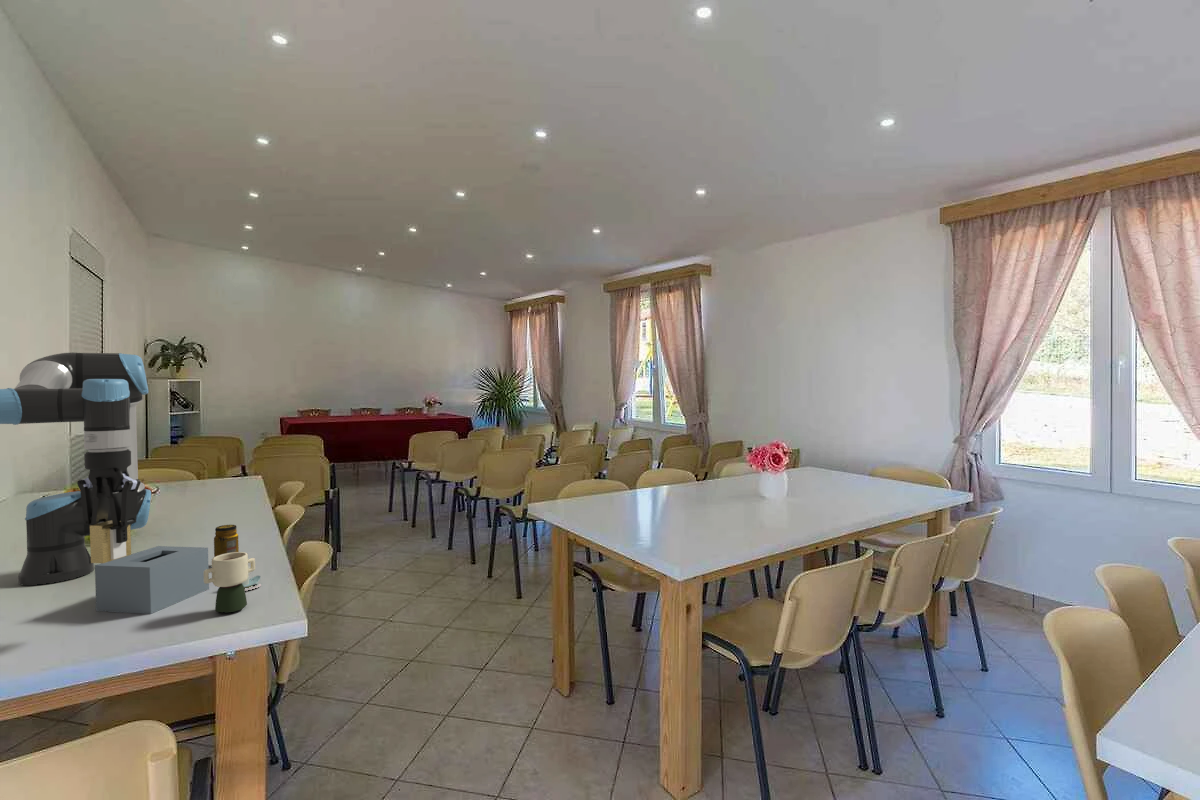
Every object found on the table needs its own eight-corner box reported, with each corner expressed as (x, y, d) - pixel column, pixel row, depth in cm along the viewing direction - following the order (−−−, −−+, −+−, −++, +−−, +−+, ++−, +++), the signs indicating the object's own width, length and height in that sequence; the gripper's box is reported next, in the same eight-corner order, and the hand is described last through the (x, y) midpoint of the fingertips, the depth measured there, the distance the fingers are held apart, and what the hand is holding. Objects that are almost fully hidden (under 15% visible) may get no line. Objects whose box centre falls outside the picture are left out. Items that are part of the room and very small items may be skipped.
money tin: (96, 610, 130) (94, 565, 129) (159, 586, 145) (158, 546, 145) (150, 613, 127) (149, 567, 127) (209, 588, 143) (208, 547, 143)
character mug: (249, 599, 136) (247, 548, 135) (263, 605, 132) (261, 552, 131) (198, 615, 126) (196, 559, 126) (211, 622, 122) (209, 565, 122)
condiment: (239, 561, 167) (238, 522, 167) (242, 567, 161) (241, 527, 160) (210, 566, 163) (209, 526, 162) (212, 573, 156) (211, 531, 156)
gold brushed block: (91, 562, 116) (89, 525, 115) (119, 554, 122) (118, 518, 121) (103, 563, 115) (101, 525, 115) (131, 554, 121) (130, 519, 121)
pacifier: (265, 588, 144) (256, 582, 148) (265, 564, 144) (256, 560, 148) (234, 596, 138) (225, 590, 142) (234, 572, 138) (225, 567, 142)
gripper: (57, 451, 115) (60, 561, 116) (122, 452, 113) (125, 564, 113) (94, 447, 123) (97, 550, 123) (156, 448, 120) (159, 553, 121)
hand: (111, 556), depth 118 cm, fingers closed on gold brushed block, 3 cm apart
